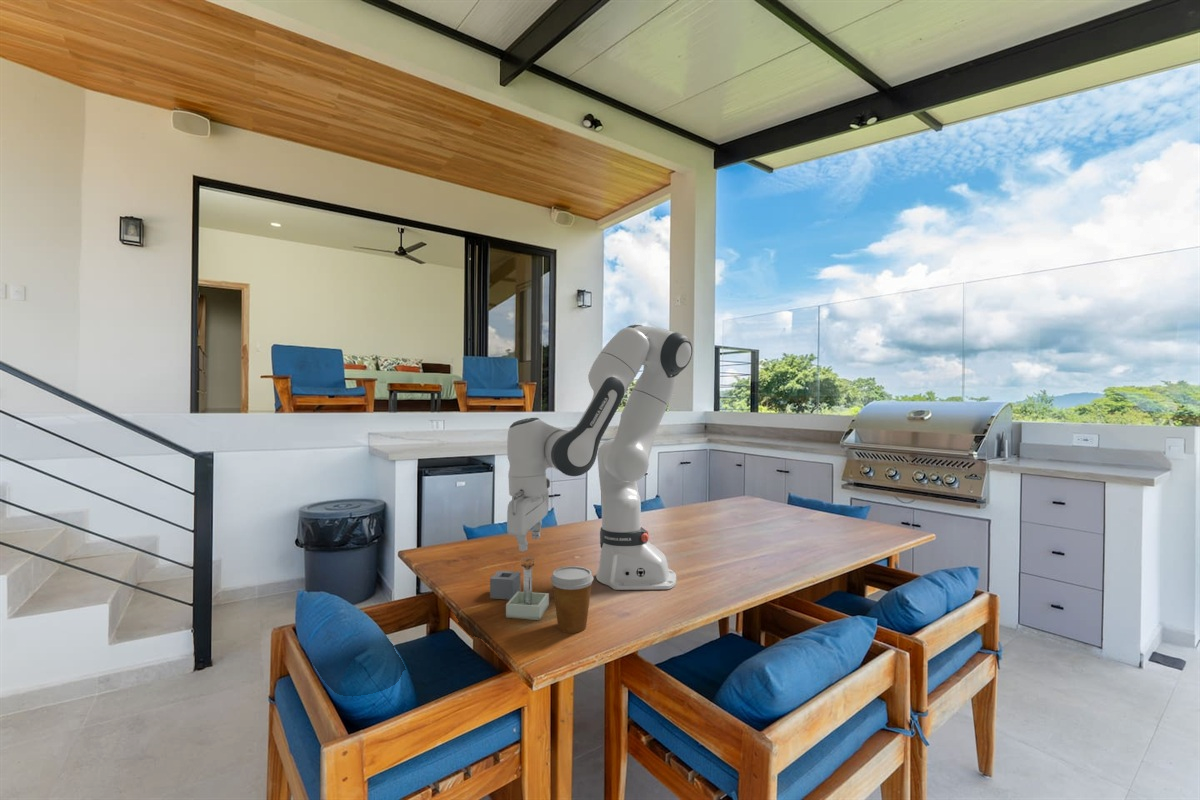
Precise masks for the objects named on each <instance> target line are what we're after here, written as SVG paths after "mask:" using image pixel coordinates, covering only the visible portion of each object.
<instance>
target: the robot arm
mask: <svg viewBox="0 0 1200 800" xmlns="http://www.w3.org/2000/svg"><path fill="white" fill-rule="evenodd" d="M692 355H693V346H692V342H691V339H690V338H689V337H688V336H686V335H684V334H682V333H681V332H677V331H676V332H674V331H672V330H668V329H665V328H662V327H656V326H655V327H653V326H647V325H646V326H644V325H642V324H631V325H629V326H625V327H624V328H623V327H622V328H621V329H620V330H619V331H618V332H617V333H616V334H615V335H614V336H613V337H612V338H611V339H610V340H609V341H608V342H607V344H606V345H605V346H604V347H603V349H602V350H600V353H599V354H598V355H597V357H596V358H595V360H594V361H593V363H592V365H591V367H590V371H589V372H588V376H587V377H588V378H587V379H588V383H589V386H590V388H591V390H592V391H593V395H592V398H591V400H590V402H589V404H588V406H587V408H586V410H585V411H584V413H583V414H582V416H581V418H580V419H579V421H578V423H577V424H576V425H575V426H574V427H573V428H572V429H570V430H564V429H561V428H558V427H556V426H553V425H550V424H549V423H546V422H544V421H543V420H541V419H540V418H538V417H530V418H529V417H528V418H524V419H519V420H517V421H514V422H513V423H511V425H510V426H509V427H508V430H507V431H508V432H507V438H506V439H507V447H506V448H507V452H506V453H507V455H506V456H507V459H508V463H509V464H508V465H509V469H508V477H507V478H508V494H509V496H510V497H512V499H511V500H510V501H509V502H508V504H507V512H506V515H507V517H506V518H507V519H506V523H507V524H506V526H507V527H506V528H507V529H506V530H507V531H506V532H507V533H508V536H511V537H512V536H513V537H515V539H516V540H517V543H518V551H520V552H526V551H527V550H528V549H529V541H527V534H528V533H527V532H529V531H530V530H531V529H532V531H531V539H532V540H538V539H540V538H541V529H542V523H543V522H542V521H543V519H544V518H545V517H547V515H548V513H549V488H551V479H550V478H548V477H547V476H546V475H547V473H546V470H547V469H551V468H553V469H555V470H557V471H560V472H561V473H562V474H564V475H565V476H567V477H579V476H582V475H584V474H586V473H587V472H588V471H590V470H591V468H592V467H593V466H594V464H595V462H596V461H597V464H598V467H597V469H598V480H599V488H600V495H601V527H600V530H599V544H600V557H599V564H598V569H597V572H596V576H595V578H596V579H597V581H598V582H600V583H601V584H604V585H605V586H608V587H610V588H612V589H613V590H616V591H617V590H618V591H620V590H621V591H623V590H625V591H628V590H629V591H631V590H635V591H637V590H646V591H647V590H670V589H672V588H674V587H675V585H676V584H677V574H676V573H675V571H674V570H672V569H671V568H669V564H668V563H669V562H668V559H667V556H666V554H664V553H663V552H662V551H661V550H660V549H658V548H657V547H656V546H655V545H653V544H652V543H650V541H649V538H650V536H649V531H648V529H647V528H643V526H642V509H641V507H642V503H641V502H642V499H641V496H640V492H639V488H638V487H639V486H638V481H639V480H641V479H642V478H643V477H644V476H645V475H646V474H647V472H648V470H649V465H650V464H649V459H650V455H651V452H652V448H653V444H654V441H655V436H656V433H657V430H658V428H659V425H660V423H661V421H662V419H663V417H664V415H665V412H666V410H667V408H668V405H669V404H670V403H671V399H672V396H673V393H674V391H675V387H676V383H677V379H678V375H679V374H680V373H681V372H683V371H684V370H685V368H687V367H688V365H689V363H690V361H691V360H692ZM642 367H643V371H642V372H641V374H640V375H639V377H638V379H637V381H636V383H635V384H634V386H633V388H632V390H631V392H630V394H629V397H628V399H627V401H626V403H625V406H624V407H623V409H622V412H621V414H620V420H619V425H618V427H617V431H616V434H615V437H614V438H611V439H608V440H606V441H604V442H603V443H602V444H601V445H600V442H601V440H602V438H603V436H604V434H605V433H606V431H607V429H608V427H609V425H610V423H611V421H612V420H613V418H614V416H615V413H616V412H617V410H618V408H619V407H620V404H621V403H622V400H623V398H624V396H625V394H626V392H627V390H628V388H629V387H630V385H631V384H632V383H633V381H634V379H635V378H636V376H637V375H638V373H639V371H640V369H642ZM599 446H600V447H599ZM596 459H597V460H596Z"/></svg>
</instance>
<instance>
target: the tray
mask: <svg viewBox="0 0 1200 800" xmlns="http://www.w3.org/2000/svg"><path fill="white" fill-rule="evenodd" d="M548 607H550V593H548V592H547V593H546V592H534V591H532V605H524V591H520V592H519V591H517V593H516V594H515V595H514V596H513V597H512V598H511V599H510V600H508V601H507V602H506V604H505V618H510V619H511V618H512V619H521V620H522V619H523V620H534V621H536V620H537V621H540V620H541V618H542V617H543V615H544V614H545V612H546V610H547V609H548Z"/></svg>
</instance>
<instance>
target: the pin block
mask: <svg viewBox="0 0 1200 800" xmlns="http://www.w3.org/2000/svg"><path fill="white" fill-rule="evenodd" d="M521 574H522V573H521V571H515V570H514V571H511V570H498V571H496V573H494V575H492V576H491V577H490V579H489V598H490V599H496V600H497V599H498V600H508V601H509V600H510V599H511V598H512V597H513V596H514V595H515V594H516V593H517V591H519V592H522V590H521V585H522V584H521V582H522V581H521V580H522V579H521Z"/></svg>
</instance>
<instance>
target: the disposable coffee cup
mask: <svg viewBox="0 0 1200 800" xmlns="http://www.w3.org/2000/svg"><path fill="white" fill-rule="evenodd" d="M594 579H595V578H594V576H593V573H592V570H590V569H589V568H587V567H583V566H576V565H575V566H574V565H571V566H563V567H559V568H556V569H555V570H553V572H552V576H551V577H550V582H551V584H552V587H553V594H554V596H553V597H554V605H555V614H556V621H557V628H558V629H559V631H560V632H563V633H566V634H567V633H568V634H571V633H572V634H576V633H580V632H583V631H584V630H585V629H587V623H588V617H589V615H588V614H589V609H590V607H589V605H590V600H591V599H590V597H591V591H592V590H591V589H592V584H593V581H594ZM582 630H583V631H582Z"/></svg>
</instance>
